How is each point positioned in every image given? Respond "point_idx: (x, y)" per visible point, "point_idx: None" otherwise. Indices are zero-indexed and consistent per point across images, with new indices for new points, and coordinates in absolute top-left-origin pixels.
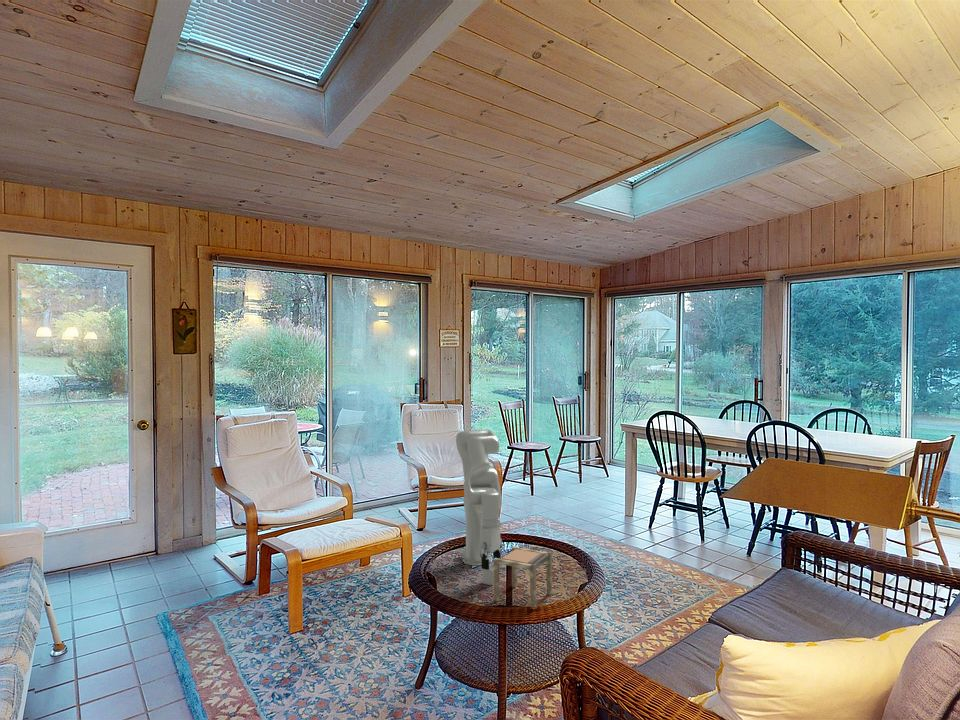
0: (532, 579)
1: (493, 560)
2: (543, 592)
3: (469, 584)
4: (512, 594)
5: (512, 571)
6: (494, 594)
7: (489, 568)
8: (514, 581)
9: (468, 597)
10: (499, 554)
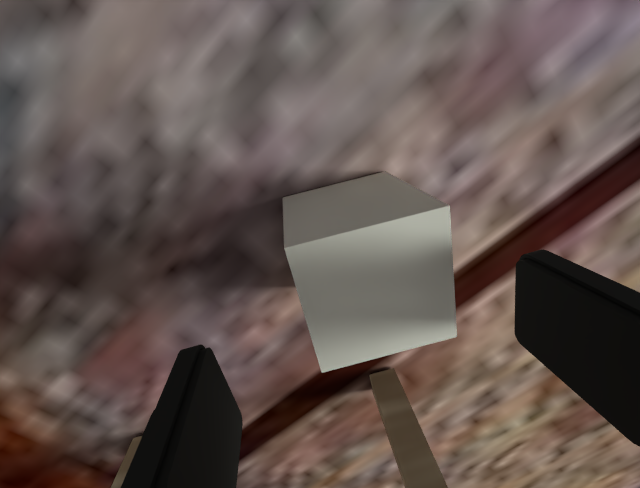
0: None
1: (529, 267)
2: None
3: (179, 118)
4: (290, 429)
5: (407, 485)
6: (116, 483)
7: (345, 307)
8: (383, 422)
9: (8, 307)
10: (625, 434)
